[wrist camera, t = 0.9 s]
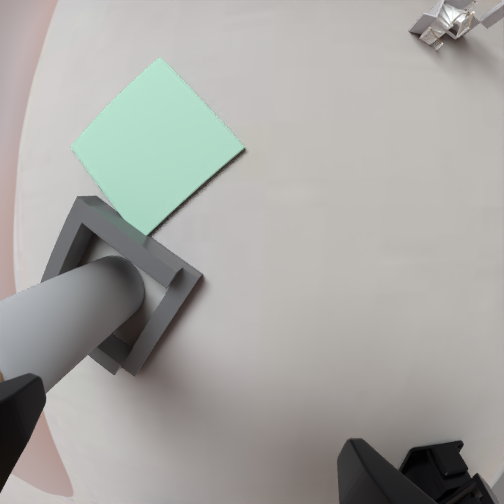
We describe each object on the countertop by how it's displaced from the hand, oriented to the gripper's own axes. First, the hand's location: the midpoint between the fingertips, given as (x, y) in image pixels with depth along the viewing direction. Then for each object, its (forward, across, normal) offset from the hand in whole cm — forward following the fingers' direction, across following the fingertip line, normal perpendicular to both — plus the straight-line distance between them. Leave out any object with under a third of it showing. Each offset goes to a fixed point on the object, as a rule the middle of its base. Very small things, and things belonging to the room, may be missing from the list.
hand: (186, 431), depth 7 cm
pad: (+15, +7, -8) cm, 18 cm away
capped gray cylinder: (+14, +8, +2) cm, 16 cm away
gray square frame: (+14, +8, +2) cm, 16 cm away
